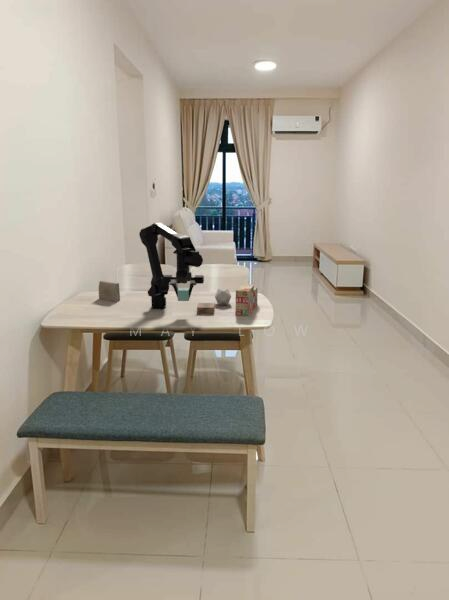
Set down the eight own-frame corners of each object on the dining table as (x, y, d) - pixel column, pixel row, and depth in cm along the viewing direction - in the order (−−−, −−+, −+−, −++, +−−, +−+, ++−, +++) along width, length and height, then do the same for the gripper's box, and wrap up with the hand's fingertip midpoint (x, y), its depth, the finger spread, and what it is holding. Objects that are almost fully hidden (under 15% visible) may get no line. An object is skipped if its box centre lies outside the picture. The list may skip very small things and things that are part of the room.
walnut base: (197, 313, 212) (196, 307, 211) (198, 308, 219) (198, 302, 219) (213, 313, 211) (213, 307, 211) (214, 308, 219) (214, 303, 218)
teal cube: (177, 300, 204) (177, 290, 203) (178, 298, 209) (178, 287, 208) (188, 301, 204) (188, 290, 203) (189, 298, 209) (189, 287, 208)
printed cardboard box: (245, 303, 230) (246, 280, 227) (257, 304, 228) (258, 280, 225) (235, 315, 210) (235, 289, 207) (248, 316, 208) (248, 290, 205)
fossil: (120, 300, 234) (119, 282, 231) (116, 302, 231) (115, 284, 228) (103, 297, 239) (102, 280, 236) (98, 299, 236) (97, 281, 233)
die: (225, 308, 222) (235, 292, 223) (210, 299, 222) (220, 283, 223) (225, 309, 230) (234, 294, 231) (211, 301, 231) (220, 285, 231)
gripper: (159, 267, 195) (160, 301, 199) (202, 267, 194) (202, 302, 198) (163, 262, 205) (164, 295, 210) (203, 263, 205) (204, 295, 209)
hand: (183, 297), depth 206 cm, fingers closed on teal cube, 5 cm apart
